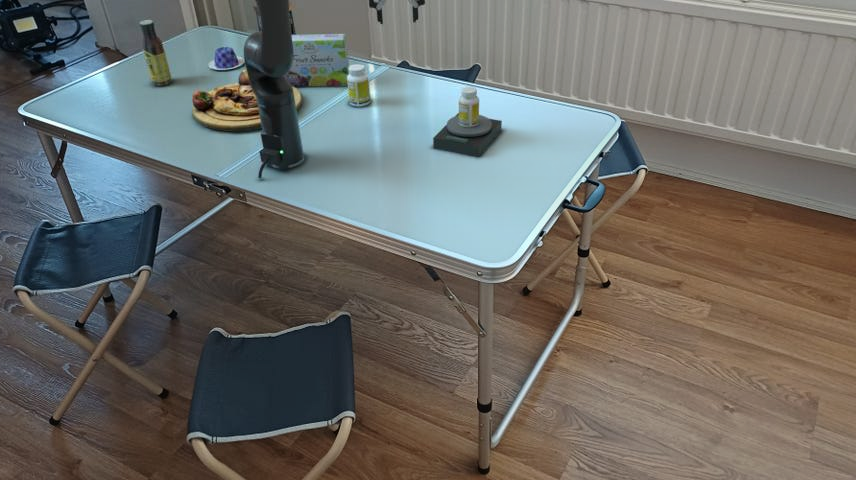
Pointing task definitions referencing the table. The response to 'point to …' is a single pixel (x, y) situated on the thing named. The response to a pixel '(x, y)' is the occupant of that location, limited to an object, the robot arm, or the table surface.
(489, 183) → the table surface
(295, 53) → the snack box
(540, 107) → the table surface
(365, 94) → the pill bottle
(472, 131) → the kitchen scale
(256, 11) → the whiskey bottle
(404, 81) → the table surface
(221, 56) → the pudding
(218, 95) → the wooden plate
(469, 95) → the supplement bottle
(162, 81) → the sauce bottle
